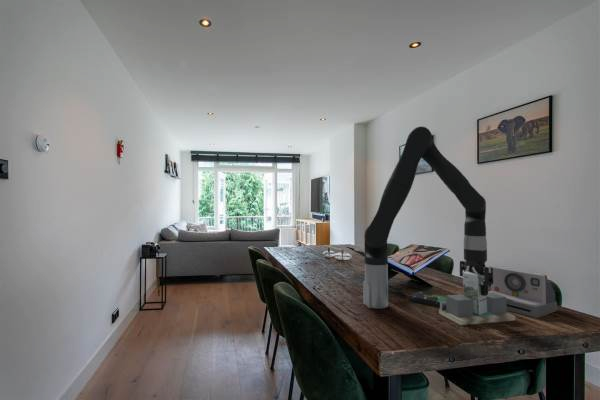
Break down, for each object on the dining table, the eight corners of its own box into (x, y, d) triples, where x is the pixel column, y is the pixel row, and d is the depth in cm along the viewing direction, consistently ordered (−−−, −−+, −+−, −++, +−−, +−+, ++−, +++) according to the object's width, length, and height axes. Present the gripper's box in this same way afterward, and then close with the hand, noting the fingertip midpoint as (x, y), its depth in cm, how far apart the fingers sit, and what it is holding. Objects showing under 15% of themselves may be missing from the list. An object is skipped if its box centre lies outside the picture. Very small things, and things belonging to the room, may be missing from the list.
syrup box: (488, 312, 116) (486, 272, 117) (479, 315, 113) (477, 274, 114) (472, 308, 121) (471, 269, 122) (463, 311, 118) (461, 272, 118)
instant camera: (478, 302, 134) (478, 267, 135) (513, 297, 142) (512, 263, 142) (530, 319, 115) (529, 277, 115) (567, 312, 122) (566, 273, 122)
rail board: (461, 325, 109) (460, 303, 109) (439, 313, 121) (438, 293, 121) (515, 320, 113) (515, 299, 114) (489, 309, 125) (489, 290, 125)
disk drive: (408, 302, 137) (444, 309, 127) (408, 295, 137) (444, 302, 127) (418, 297, 145) (453, 303, 134) (418, 291, 145) (453, 297, 134)
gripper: (453, 245, 124) (453, 287, 124) (480, 250, 110) (481, 298, 110) (470, 245, 125) (470, 286, 125) (499, 250, 111) (500, 297, 111)
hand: (475, 292), depth 117 cm, fingers open, 8 cm apart
